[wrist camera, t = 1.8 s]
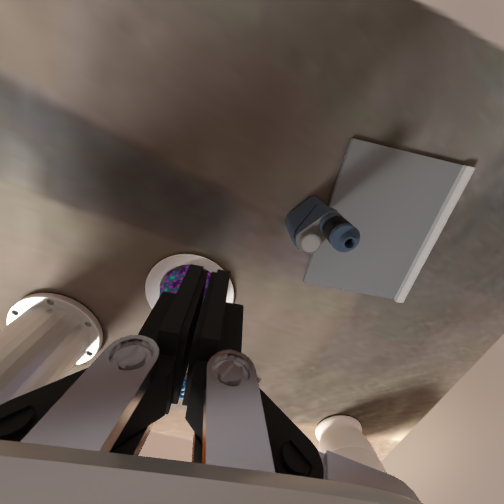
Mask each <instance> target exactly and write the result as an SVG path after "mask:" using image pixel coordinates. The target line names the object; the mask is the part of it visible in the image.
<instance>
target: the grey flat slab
mask: <svg viewBox="0 0 504 504" xmlns="http://www.w3.org/2000/svg"><path fill="white" fill-rule="evenodd" d="M474 170H475V168H474V167H470V166H464V165H460V164H456V163H452V162H448V161H443V160H439V159H435V158H431V157H427V156H423V155H419V154H415V153H411V152H407V151H403V150H399V149H395V148H391V147H386V146H382V145H378V144H374V143H370V142H366V141H362V140H358V139H354V138H351V139H350V142H349V145H348V148H347V151H346V154H345V157H344V159H343V162H342V165H341V168H340V171H339V174H338V177H337V180H336V183H335V186H334V189H333V192H332V195H331V198H330V201H329V204H328V206H329V207H332V208H334V209H335V210H337V211H338V212H339V213H340V214H341V215H342V216H343V217H344V218H345V219H346V220H347V221H348V222H350V223H351V224H352V225H353V226H354V227H356V228H357V229H358V230H359V232H360V241H359V243H358V245H357V246H356V247H355V248H354V249H353V250H351V251H349V252H339V251H337V250H335V249H334V248H333V247H332V245H331V244H330V243H329V241H326V242H325V243H323V244H322V245H321V247H320V249H319V250H318V251H317V252H315V253H312V254H311V257H310V260H309V263H308V266H307V269H306V272H305V275H304V278H303V283H308V284H314V285H319V286H325V287H330V288H336V289H341V290H346V291H352V292H357V293H363V294H368V295H373V296H379V297H384V298H390V299H394V300H395V301H396V302H400V303H403V302H404V300H405V298H406V296H407V294H408V292H409V291H410V289H411V287H412V285H413V283H414V281H415V279H416V278H417V276H418V274H419V272H420V270H421V268H422V266H423V265H424V263H425V261H426V259H427V257H428V255H429V253H430V252H431V250H432V248H433V246H434V244H435V242H436V240H437V239H438V237H439V235H440V233H441V231H442V229H443V227H444V226H445V224H446V222H447V220H448V218H449V216H450V214H451V212H452V211H453V209H454V207H455V205H456V203H457V201H458V199H459V198H460V196H461V194H462V192H463V190H464V188H465V186H466V185H467V183H468V181H469V179H470V177H471V175H472V173H473V172H474Z"/></svg>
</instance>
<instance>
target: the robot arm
mask: <svg viewBox="0 0 504 504" xmlns="http://www.w3.org/2000/svg"><path fill="white" fill-rule="evenodd" d="M203 269H204V266H198V265H193V264H190V266H189V268H188V270H187V272H186V274H185V276H184V278H183V280H182V282H181V284H180V286H179V289H178V291H177V293H171V292H166V291H163V292H162V294H161V295H160V297H159V299H158V300H157V302H156V304H155V306H154V307H153V309H152V311H151V313H150V314H149V316H148V318H147V320H146V321H145V323H144V325H143V327H142V328H141V330H140V332H139V334H138V335H129V336H126V337H122V338H120V339H118V340H116V341H114V342H113V343H111V344H110V345H109V346H108V347H107V348H106V349H105V350H104V351H103V352H102V353H101V354H100V356H99V357H98V358H97V359H96V360H95V361H94V362H93V363H92V364H91V365H90V366H89V367H88V368H86V369H84V370H81V371H79V372H76V373H74V374H72V375H69V376H67V377H65V376H66V375H67V373H68V372H69V371H70V370H71V368H72V367H73V366H75V365H79V364H83V363H85V362H87V361H89V360H90V359H92V358H93V357H94V356H95V355H96V353H97V352H98V351H99V349H100V347H101V345H102V342H103V332H102V328H101V326H100V324H99V322H98V320H97V319H96V317H95V316H94V315H93V313H91V312H90V311H89V310H88V309H87V308H86V307H85V306H83V305H82V304H80V303H79V302H77V301H75V300H73V299H71V298H68V297H65V296H63V295H59V294H54V293H36V294H32V295H29V296H26V297H24V298H23V299H21V300H19V301H18V302H17V303H15V304H14V305H13V306H12V307H11V308H10V310H9V312H8V315H7V326H6V327H4V328H3V329H2V330H0V504H423V503H421V502H420V500H419V499H418V497H417V496H416V494H415V493H414V492H413V490H411V489H410V488H409V487H408V486H407V485H406V484H405V483H404V482H403V481H401V480H399V479H398V478H396V477H394V476H392V475H389V474H387V473H384V472H382V471H379V470H377V469H374V468H371V467H369V466H366V465H364V464H361V463H359V462H356V461H354V460H351V459H349V458H346V457H343V456H341V455H338V454H336V453H333V452H331V451H328V450H327V451H326V453H322V452H320V451H318V450H317V449H316V447H315V446H314V445H313V443H312V442H311V441H310V440H309V439H308V438H307V437H306V436H305V435H304V434H303V432H302V431H301V430H300V429H299V428H298V427H297V426H296V425H295V424H294V423H293V422H292V421H291V420H290V419H289V418H288V417H287V416H286V415H285V414H284V413H283V412H282V411H281V410H280V409H279V408H278V407H277V406H276V405H275V404H274V402H273V401H272V400H271V399H270V398H269V397H268V396H267V395H266V394H265V393H264V392H263V391H262V390H261V389H260V388H259V384H258V379H257V374H256V369H255V366H254V364H253V362H252V361H251V360H250V358H249V357H247V356H246V355H245V354H243V353H241V346H242V325H243V305H239V304H233V303H228V302H226V297H227V291H228V285H229V278H230V271H225V270H220V269H218V270H217V272H212V273H211V277H210V280H209V284H208V287H207V290H206V294H205V297H204V293H205V287H206V281H207V275H208V271H206V270H203ZM203 299H204V301H203ZM188 364H189V365H188ZM187 368H188V372H187V378H186V384H185V391H184V397H183V404H182V405H187V411H186V417H185V418H186V420H187V421H188V423H189V424H190V426H191V427H192V429H193V430H194V435H193V448H192V462H184V461H176V460H167V459H160V458H151V457H142V456H138V455H139V453H140V451H141V449H142V447H143V445H144V443H145V441H146V439H147V437H148V435H149V433H150V431H151V428H152V425H153V422H155V421H157V420H158V419H160V418H161V417H163V416H164V415H165V414H168V413H169V410H170V406H171V403H173V404H177V403H178V400H179V397H180V393H181V389H182V386H183V382H184V379H185V375H186V371H187Z"/></svg>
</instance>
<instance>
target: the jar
mask: <svg viewBox="0 0 504 504" xmlns="http://www.w3.org/2000/svg"><path fill="white" fill-rule="evenodd" d="M315 434H316V437H317V439H318V440H319V446H318V451H320V452H322V453H326V451H327V450H328V451H331V452H333V453H336V454H338V455H341V456H343V457H346V458H349V459H351V460H354V461H356V462H359V463H361V464H364V465H366V466H369V467H371V468H374V469H377V470H379V471H382V472H384V473H387V472H386V471H385V469H384V467H383V465H382V463H381V462H380V460H379V458H378V457H377V454H376V452H375V451H374V449H373V447H372V445H371V444H370V442H369V441H368V440H367V438H366V437H365V436H364V435H363V434H362V426H361V424H360V423H359V421H358V420H356V419H355V418H353V417H350V416H344V415H338V416H332V417H329V418H326V419H325V420H323V421H321V422H320V423H319V424H318V426H317V427H316V430H315Z"/></svg>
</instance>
